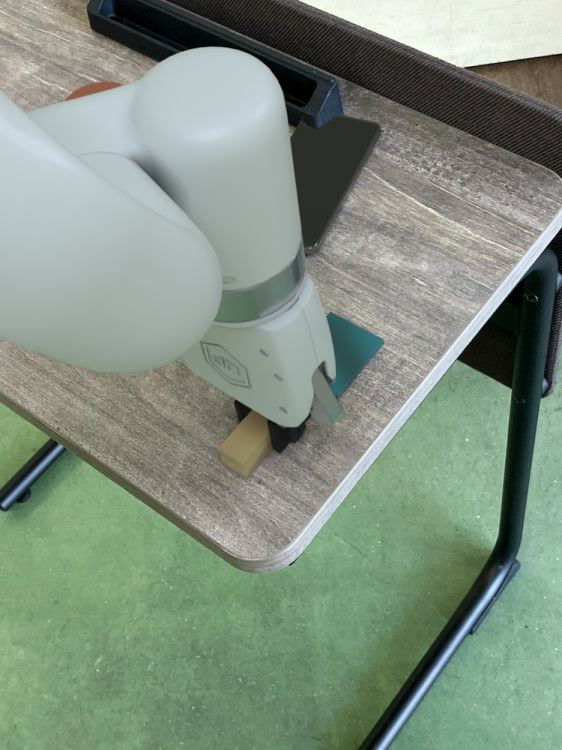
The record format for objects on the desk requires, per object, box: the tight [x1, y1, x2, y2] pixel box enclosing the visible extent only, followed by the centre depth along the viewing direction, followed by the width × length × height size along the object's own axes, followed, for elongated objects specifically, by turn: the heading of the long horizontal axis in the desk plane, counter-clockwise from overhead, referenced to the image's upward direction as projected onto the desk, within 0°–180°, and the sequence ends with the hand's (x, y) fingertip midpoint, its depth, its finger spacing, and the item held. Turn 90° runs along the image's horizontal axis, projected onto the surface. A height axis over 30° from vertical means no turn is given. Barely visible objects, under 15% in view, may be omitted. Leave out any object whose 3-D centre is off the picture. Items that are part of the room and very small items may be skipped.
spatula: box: [217, 311, 385, 481], centre depth 69 cm, size 15×5×2 cm, turn 142°
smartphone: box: [290, 112, 382, 255], centre depth 82 cm, size 7×1×16 cm
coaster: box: [64, 80, 124, 101], centre depth 90 cm, size 7×7×1 cm
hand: (273, 425), depth 69 cm, fingers closed on spatula, 2 cm apart
